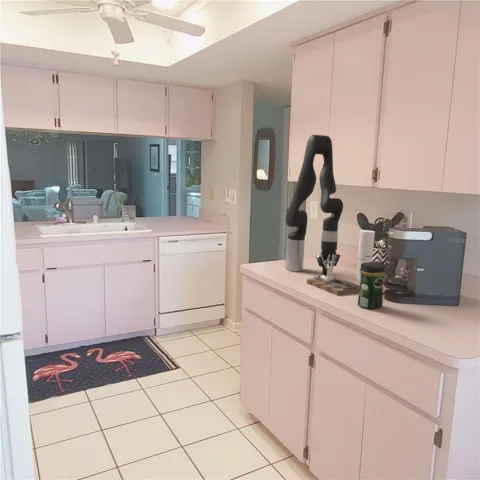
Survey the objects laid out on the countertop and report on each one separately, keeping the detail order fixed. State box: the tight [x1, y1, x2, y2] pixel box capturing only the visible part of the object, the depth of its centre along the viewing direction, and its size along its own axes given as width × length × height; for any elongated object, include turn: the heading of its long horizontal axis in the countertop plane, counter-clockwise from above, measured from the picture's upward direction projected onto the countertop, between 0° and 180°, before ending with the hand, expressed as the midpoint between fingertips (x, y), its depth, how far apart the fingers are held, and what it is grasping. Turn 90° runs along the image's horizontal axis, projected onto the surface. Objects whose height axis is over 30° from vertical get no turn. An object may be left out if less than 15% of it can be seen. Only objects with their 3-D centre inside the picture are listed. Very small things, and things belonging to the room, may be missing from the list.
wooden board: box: [306, 275, 360, 296], centre depth 193 cm, size 22×16×3 cm
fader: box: [319, 265, 334, 281], centre depth 197 cm, size 5×4×6 cm
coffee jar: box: [357, 260, 386, 310], centre depth 165 cm, size 10×8×19 cm
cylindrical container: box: [355, 229, 376, 281], centre depth 209 cm, size 7×7×25 cm
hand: (327, 274), depth 198 cm, fingers closed on fader, 2 cm apart
